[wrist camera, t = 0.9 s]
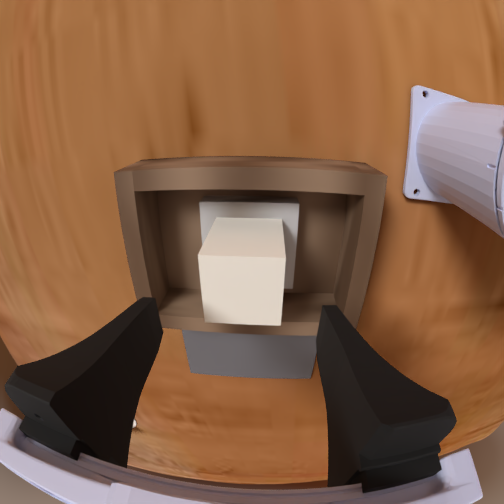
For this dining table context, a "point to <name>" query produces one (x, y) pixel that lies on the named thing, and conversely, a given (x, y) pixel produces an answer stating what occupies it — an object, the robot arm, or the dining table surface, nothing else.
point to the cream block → (243, 271)
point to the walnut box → (252, 206)
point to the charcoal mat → (250, 354)
